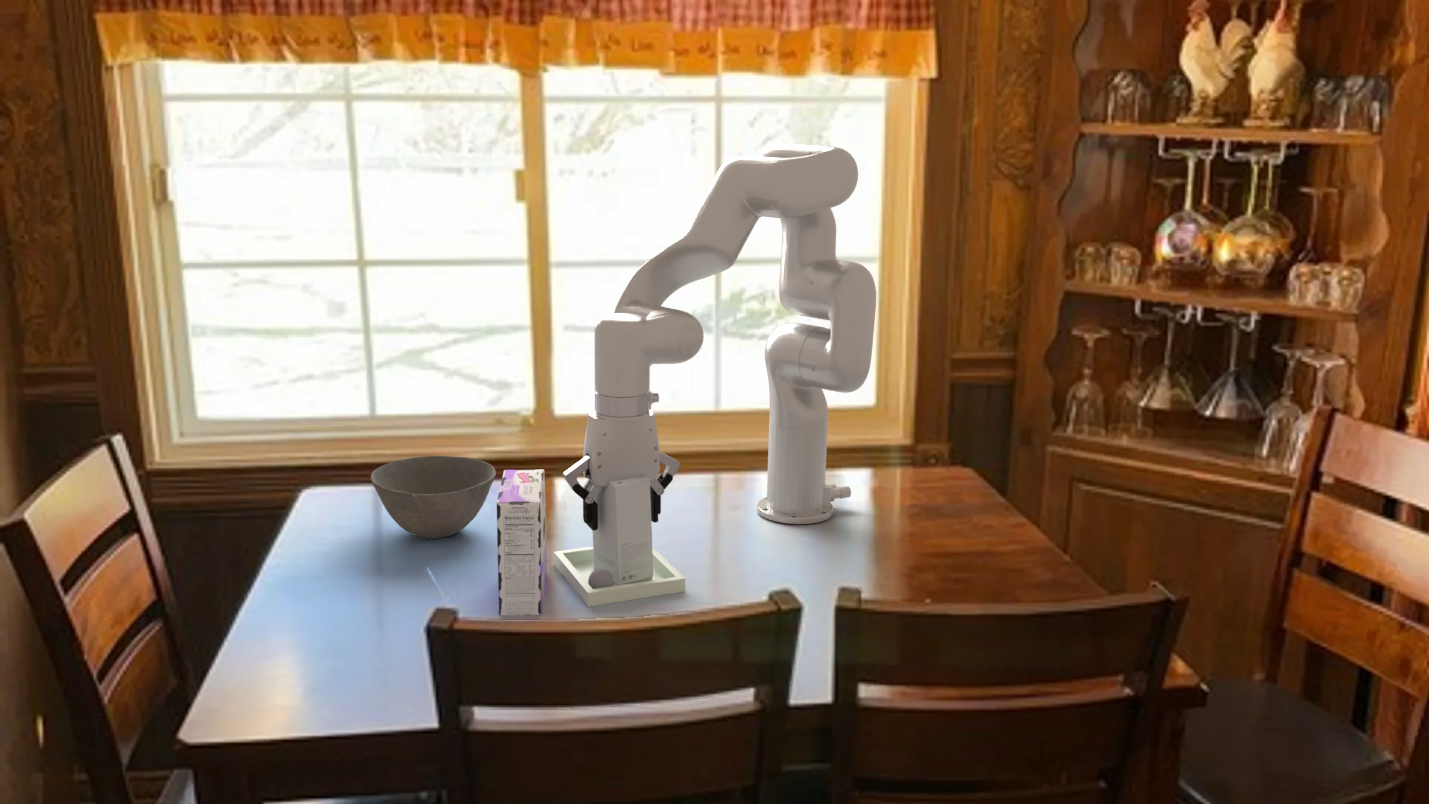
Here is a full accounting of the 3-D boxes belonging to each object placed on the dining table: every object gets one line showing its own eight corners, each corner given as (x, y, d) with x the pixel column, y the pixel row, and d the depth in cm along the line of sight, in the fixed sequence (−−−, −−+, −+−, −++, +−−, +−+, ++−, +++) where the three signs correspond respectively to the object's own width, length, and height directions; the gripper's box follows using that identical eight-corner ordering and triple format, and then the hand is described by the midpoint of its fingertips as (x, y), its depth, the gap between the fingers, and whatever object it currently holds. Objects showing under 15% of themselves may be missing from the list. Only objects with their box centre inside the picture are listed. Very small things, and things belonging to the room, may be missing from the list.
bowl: (370, 559, 180) (366, 495, 177) (377, 516, 198) (374, 457, 195) (499, 552, 184) (498, 488, 181) (495, 510, 201) (493, 452, 199)
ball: (609, 586, 170) (609, 563, 169) (617, 596, 167) (617, 572, 166) (585, 590, 169) (584, 566, 168) (593, 599, 166) (592, 575, 165)
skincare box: (654, 579, 173) (654, 479, 169) (615, 587, 170) (615, 485, 166) (626, 560, 180) (627, 463, 176) (589, 567, 177) (589, 469, 173)
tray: (644, 555, 184) (644, 539, 183) (685, 595, 169) (685, 578, 169) (554, 567, 178) (553, 551, 177) (588, 610, 164) (588, 593, 163)
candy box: (506, 579, 174) (503, 468, 170) (547, 578, 174) (546, 467, 170) (497, 620, 161) (494, 500, 156) (542, 619, 161) (540, 500, 157)
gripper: (670, 392, 175) (669, 507, 180) (553, 402, 168) (555, 522, 173) (691, 405, 169) (689, 524, 173) (569, 416, 162) (570, 540, 166)
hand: (622, 522), depth 173 cm, fingers open, 8 cm apart
